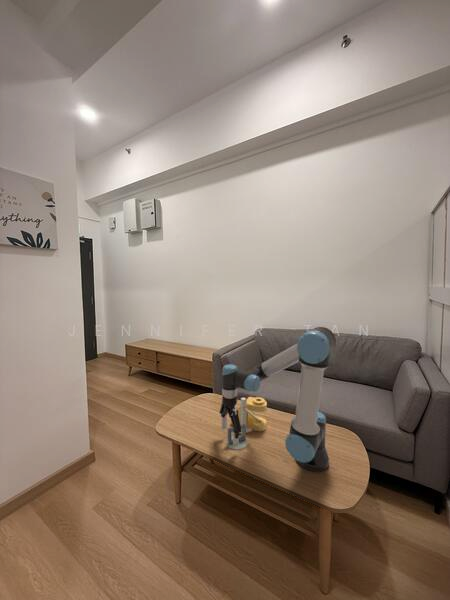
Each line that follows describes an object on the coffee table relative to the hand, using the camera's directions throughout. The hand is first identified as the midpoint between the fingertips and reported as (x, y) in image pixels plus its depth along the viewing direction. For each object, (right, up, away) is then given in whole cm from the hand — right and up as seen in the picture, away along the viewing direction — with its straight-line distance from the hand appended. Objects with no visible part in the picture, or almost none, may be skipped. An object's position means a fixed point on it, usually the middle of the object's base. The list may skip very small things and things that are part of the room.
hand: (229, 435), depth 126 cm
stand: (+11, -4, +8) cm, 14 cm away
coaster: (+4, -5, +2) cm, 7 cm away
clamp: (+12, -4, +19) cm, 23 cm away
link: (+4, -4, +2) cm, 6 cm away
